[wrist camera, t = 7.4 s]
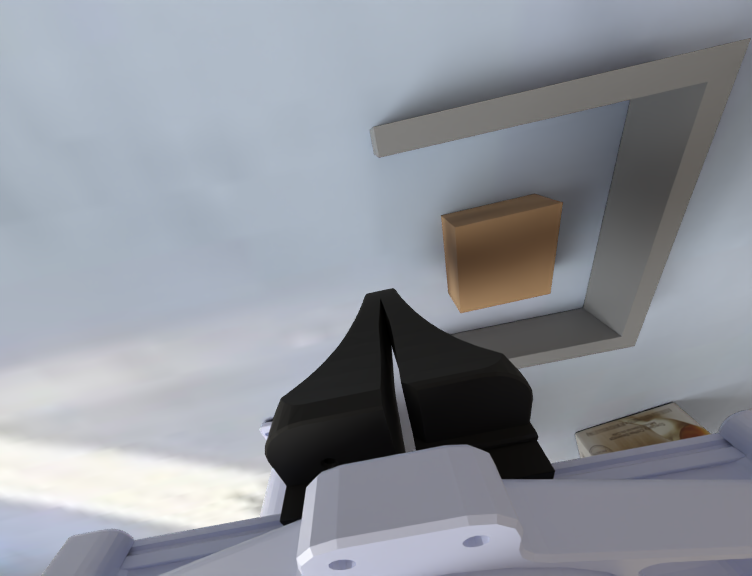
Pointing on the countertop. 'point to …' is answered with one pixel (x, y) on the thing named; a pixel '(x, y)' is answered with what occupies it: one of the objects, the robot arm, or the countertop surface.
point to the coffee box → (639, 431)
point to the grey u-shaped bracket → (627, 192)
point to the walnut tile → (501, 251)
